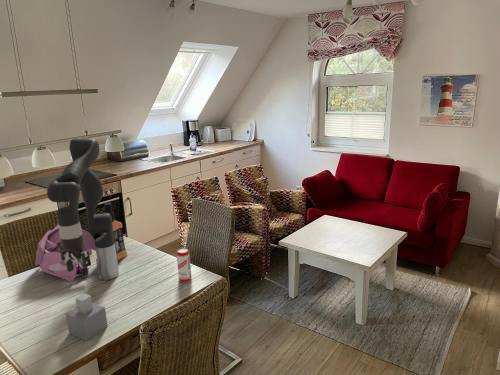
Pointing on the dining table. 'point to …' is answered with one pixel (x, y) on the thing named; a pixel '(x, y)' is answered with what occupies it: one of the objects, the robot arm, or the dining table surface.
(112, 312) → the dining table surface
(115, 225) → the whiskey bottle
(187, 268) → the beer can
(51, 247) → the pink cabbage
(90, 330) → the grey stepped block
